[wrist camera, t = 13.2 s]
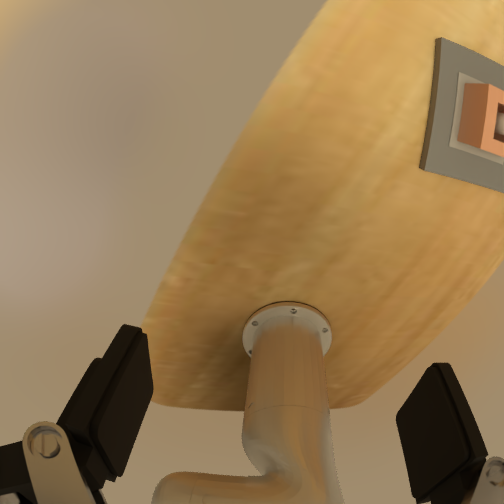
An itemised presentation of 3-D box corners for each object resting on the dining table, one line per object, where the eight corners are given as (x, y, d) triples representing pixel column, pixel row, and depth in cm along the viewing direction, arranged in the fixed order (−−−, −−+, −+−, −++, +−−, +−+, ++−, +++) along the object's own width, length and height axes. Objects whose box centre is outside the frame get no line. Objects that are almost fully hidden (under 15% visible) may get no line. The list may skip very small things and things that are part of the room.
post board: (502, 191, 32) (545, 217, 23) (419, 167, 32) (458, 191, 24) (519, 79, 24) (567, 83, 16) (435, 39, 25) (479, 27, 16)
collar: (499, 155, 28) (523, 165, 24) (457, 140, 28) (480, 148, 24) (507, 102, 25) (532, 106, 21) (464, 83, 25) (489, 83, 21)
